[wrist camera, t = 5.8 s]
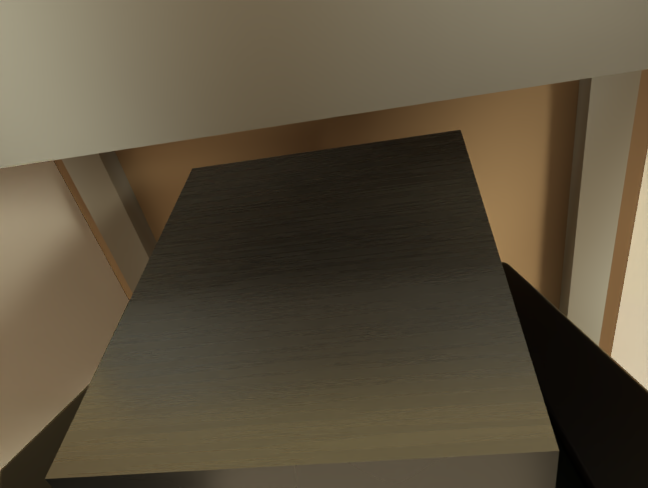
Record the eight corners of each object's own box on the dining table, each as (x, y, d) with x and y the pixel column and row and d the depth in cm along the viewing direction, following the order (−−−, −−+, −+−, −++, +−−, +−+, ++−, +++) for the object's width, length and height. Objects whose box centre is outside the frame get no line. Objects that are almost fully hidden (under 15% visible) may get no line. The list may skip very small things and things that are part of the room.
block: (469, 327, 10) (537, 650, 6) (259, 345, 11) (201, 651, 7) (460, 129, 8) (560, 450, 4) (192, 168, 8) (44, 478, 5)
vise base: (705, -387, 7) (1199, -671, 3) (586, 404, 17) (661, 601, 13) (-86, -176, 9) (-484, -164, 5) (219, 430, 19) (178, 609, 15)
